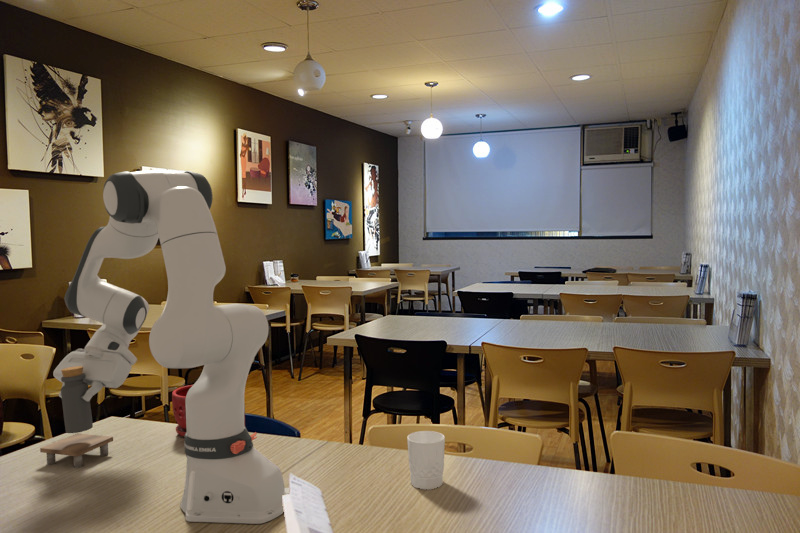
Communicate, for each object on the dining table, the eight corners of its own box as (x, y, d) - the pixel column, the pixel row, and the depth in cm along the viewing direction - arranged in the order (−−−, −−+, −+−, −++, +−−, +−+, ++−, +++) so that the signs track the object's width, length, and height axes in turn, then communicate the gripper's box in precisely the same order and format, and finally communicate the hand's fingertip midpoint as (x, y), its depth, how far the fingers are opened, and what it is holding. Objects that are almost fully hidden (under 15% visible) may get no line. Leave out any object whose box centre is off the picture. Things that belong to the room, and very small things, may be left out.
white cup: (453, 482, 130) (452, 435, 129) (428, 494, 124) (428, 445, 123) (424, 473, 135) (424, 428, 135) (400, 484, 129) (399, 437, 129)
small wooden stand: (113, 452, 152) (113, 436, 151) (78, 469, 141) (77, 452, 141) (78, 449, 155) (77, 433, 155) (41, 464, 144) (40, 448, 144)
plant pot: (162, 438, 162) (160, 393, 162) (196, 423, 174) (195, 381, 174) (202, 443, 157) (200, 397, 157) (234, 428, 169) (233, 385, 169)
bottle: (85, 432, 145) (77, 369, 144) (60, 434, 145) (53, 371, 144) (97, 424, 151) (90, 364, 150) (73, 427, 151) (66, 366, 150)
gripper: (67, 341, 157) (33, 388, 148) (127, 345, 149) (96, 395, 141) (82, 355, 161) (50, 401, 153) (142, 360, 154) (112, 409, 145)
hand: (73, 398), depth 147 cm, fingers closed on bottle, 6 cm apart
